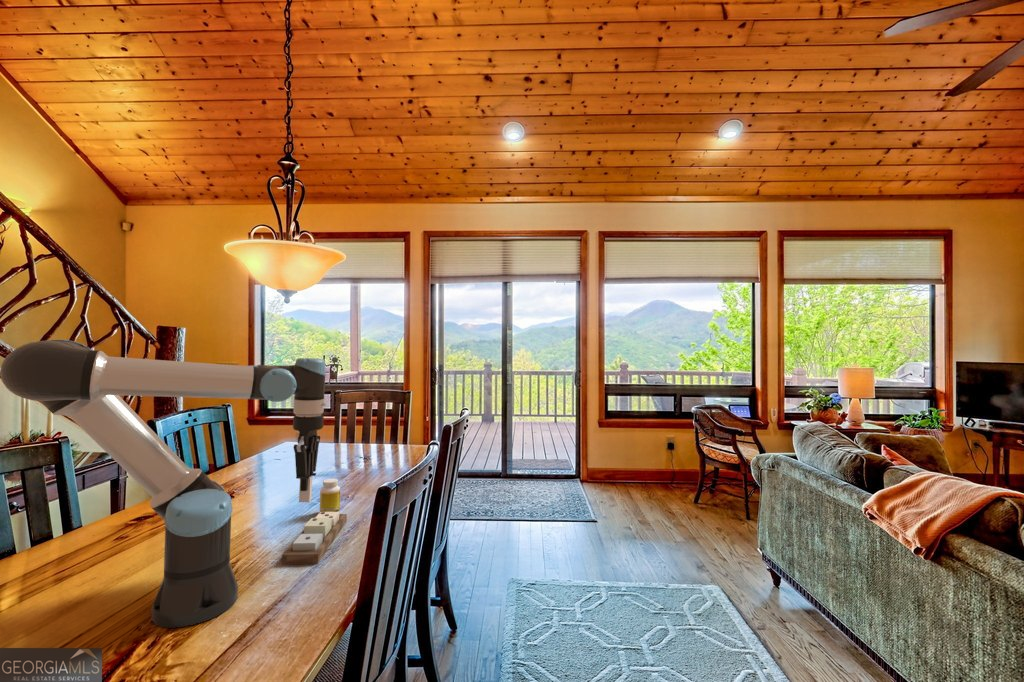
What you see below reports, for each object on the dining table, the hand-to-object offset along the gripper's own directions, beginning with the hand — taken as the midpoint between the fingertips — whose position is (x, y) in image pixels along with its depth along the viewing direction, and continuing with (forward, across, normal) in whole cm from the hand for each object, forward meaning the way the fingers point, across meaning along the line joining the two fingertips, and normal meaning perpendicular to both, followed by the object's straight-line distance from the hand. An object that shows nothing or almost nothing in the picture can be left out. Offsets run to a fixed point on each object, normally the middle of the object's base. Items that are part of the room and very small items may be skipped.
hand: (305, 501), depth 120 cm
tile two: (+12, +8, -1) cm, 14 cm away
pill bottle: (+14, +29, +2) cm, 32 cm away
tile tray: (+14, +8, -1) cm, 16 cm away
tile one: (+13, 0, -1) cm, 13 cm away
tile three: (+13, +16, -1) cm, 20 cm away
